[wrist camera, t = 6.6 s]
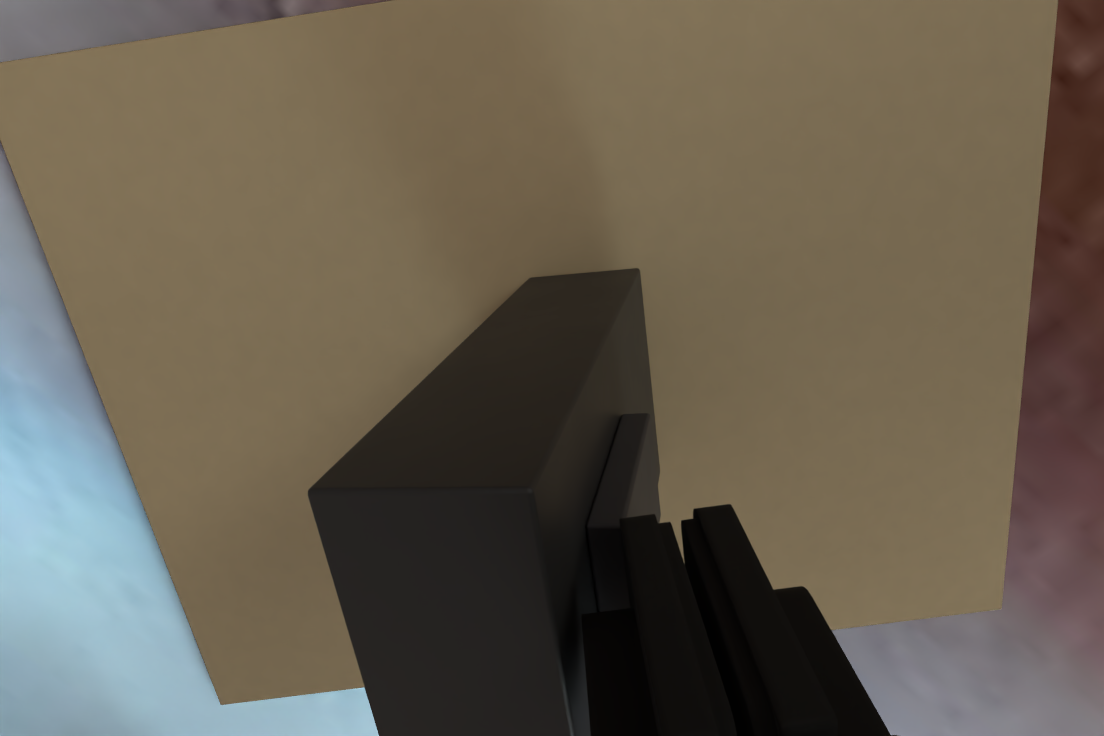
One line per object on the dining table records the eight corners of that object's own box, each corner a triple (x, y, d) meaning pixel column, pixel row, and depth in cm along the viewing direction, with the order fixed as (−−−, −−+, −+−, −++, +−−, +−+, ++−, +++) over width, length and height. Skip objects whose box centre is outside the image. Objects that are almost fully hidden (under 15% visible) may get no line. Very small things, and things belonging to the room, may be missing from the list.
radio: (525, 277, 19) (296, 491, 9) (663, 265, 18) (583, 489, 8) (556, 473, 21) (398, 828, 11) (682, 472, 20) (636, 860, 10)
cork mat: (-20, 67, 17) (-30, 66, 17) (1059, -104, 16) (1069, -108, 16) (224, 698, 24) (220, 705, 24) (996, 603, 23) (1001, 609, 23)
